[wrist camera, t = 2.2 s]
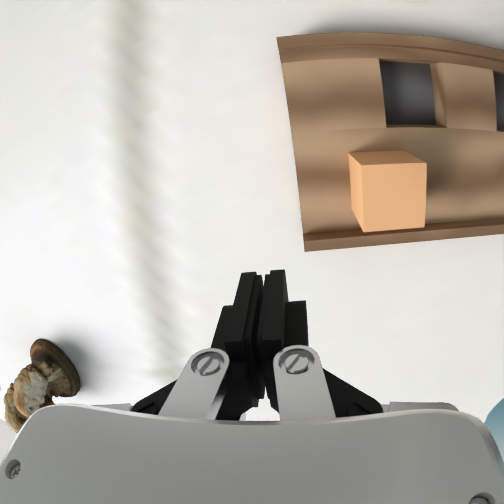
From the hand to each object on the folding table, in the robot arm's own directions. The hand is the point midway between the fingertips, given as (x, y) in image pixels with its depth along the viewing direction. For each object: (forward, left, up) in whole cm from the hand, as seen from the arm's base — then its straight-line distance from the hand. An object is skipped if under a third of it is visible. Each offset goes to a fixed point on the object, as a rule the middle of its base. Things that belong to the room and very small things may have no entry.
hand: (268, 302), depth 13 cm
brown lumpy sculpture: (+29, -46, -19) cm, 58 cm away
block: (0, +9, -16) cm, 18 cm away
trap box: (-4, +19, -19) cm, 27 cm away
